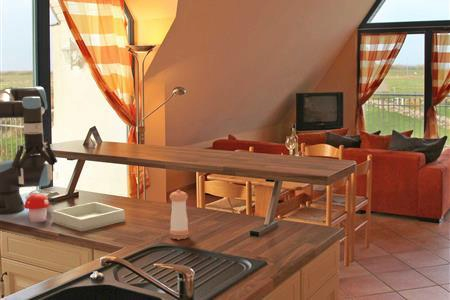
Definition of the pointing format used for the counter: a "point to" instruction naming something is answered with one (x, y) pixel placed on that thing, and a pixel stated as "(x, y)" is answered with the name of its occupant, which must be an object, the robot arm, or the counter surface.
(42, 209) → the mushroom
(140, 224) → the counter surface
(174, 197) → the pepper shaker
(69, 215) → the tub
